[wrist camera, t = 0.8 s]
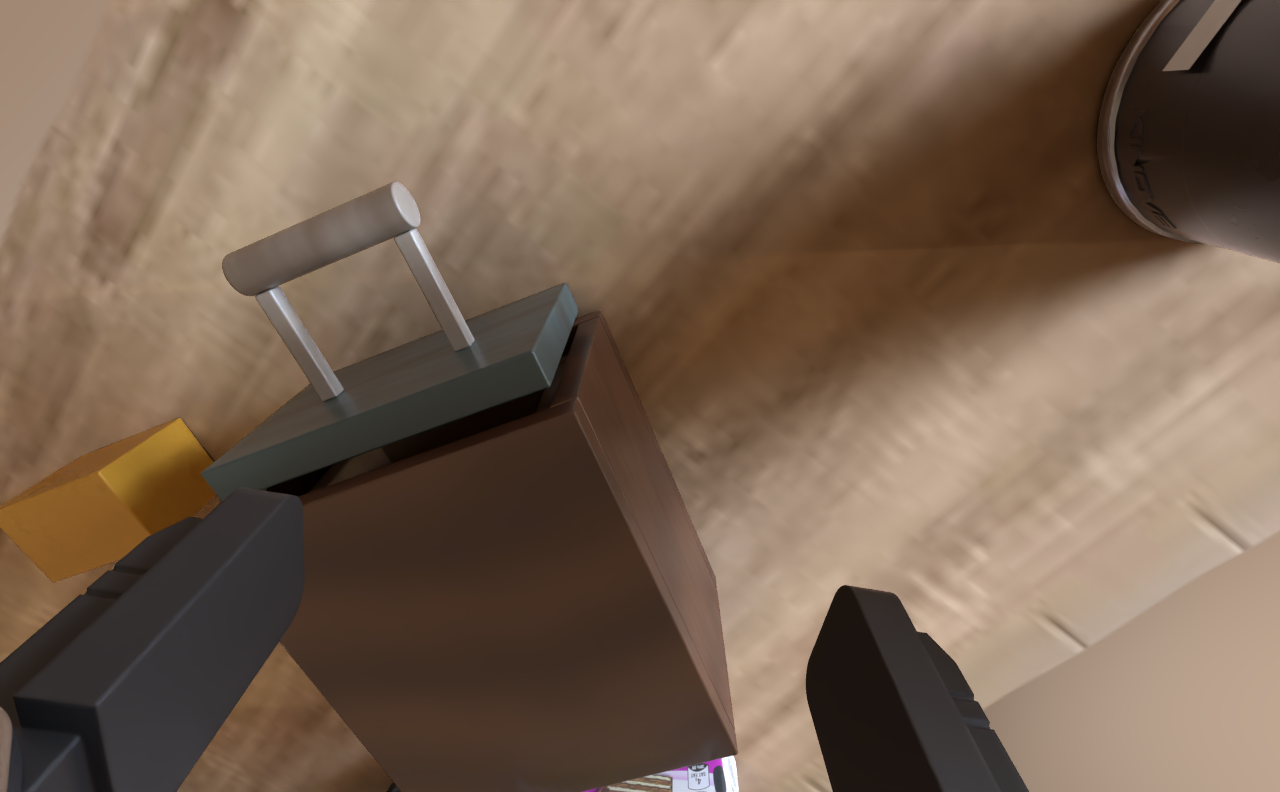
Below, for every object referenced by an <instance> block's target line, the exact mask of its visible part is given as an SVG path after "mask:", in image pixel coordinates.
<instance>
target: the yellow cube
mask: <svg viewBox="0 0 1280 792" xmlns="http://www.w3.org/2000/svg"><path fill="white" fill-rule="evenodd" d="M212 463H214V462H213V460H212V459H211V458H210V457H209V455H208V454H207V453H206V451H205V450H204V449H203V447H202V446H201V445H200V443H199V442H198V441H197V439H196V438H195V437H194V435H193V434H192V433H191V431H190V430H189V429H188V427H187V426H186V425H185V423H184V422H183V421H182V419H180V418H177V419H175V420H172V421H170V422H167V423H164V424H162V425H159V426H157V427H154V428H152V429H149V430H147V431H144V432H141V433H139V434H136V435H134V436H131V437H129V438H126V439H124V440H121V441H118V442H116V443H113V444H111V445H108V446H106V447H103V448H100V449H98V450H95V451H93V452H90V453H88V454H85V455H83V456H81V457H79V458H78V459H76V460H75V461H73V462H71V463H70V464H68V465H66V466H65V467H63V468H62V469H60V470H58V471H57V472H55V473H53V474H52V475H50V476H49V477H47V478H45V479H44V480H42V481H40V482H39V483H37V484H36V485H34V486H32V487H31V488H29V489H27V490H26V491H24V492H23V493H21V494H19V495H18V496H16V497H14V498H13V499H11V500H10V501H8V502H6V503H5V504H3V505H1V506H0V528H1V529H2V530H3V531H4V532H5V533H6V534H7V535H8V536H9V537H10V538H11V539H12V540H13V541H14V542H15V544H16V545H17V546H18V547H19V548H20V549H21V550H22V551H23V552H24V553H25V554H26V555H27V556H28V557H29V558H30V559H31V560H32V561H33V562H34V563H35V564H36V565H37V567H38V568H39V569H40V570H41V571H42V572H43V573H44V574H45V575H46V576H47V577H48V578H49V579H50V580H51V581H52V582H54V583H55V582H57V581H60V580H63V579H66V578H69V577H72V576H75V575H77V574H80V573H83V572H86V571H89V570H92V569H94V568H97V567H100V566H103V565H106V564H109V563H112V562H114V561H117V560H120V559H122V558H123V557H124V556H126V555H127V554H128V553H129V552H130V551H131V550H133V549H134V548H135V547H136V546H137V545H138V544H139V543H141V542H142V541H143V540H144V539H145V538H146V537H148V536H150V535H152V534H154V533H157V532H159V531H161V530H163V529H165V528H167V527H169V526H171V525H173V524H175V523H177V522H179V521H181V520H183V519H186V518H188V517H192V516H193V515H195V514H196V513H197V512H198V511H199V510H200V509H201V508H202V507H204V506H205V505H206V504H207V503H208V502H209V501H210V500H211V499H213V498H214V497H215V496H216V493H215V492H214V491H213V490H212V488H211V487H210V486H209V484H208V483H207V482H206V481H205V479H204V478H203V477H202V475H201V473H202V472H203V471H204V470H205V469H206V468H207V467H209V466H210V465H211V464H212Z"/></svg>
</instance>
